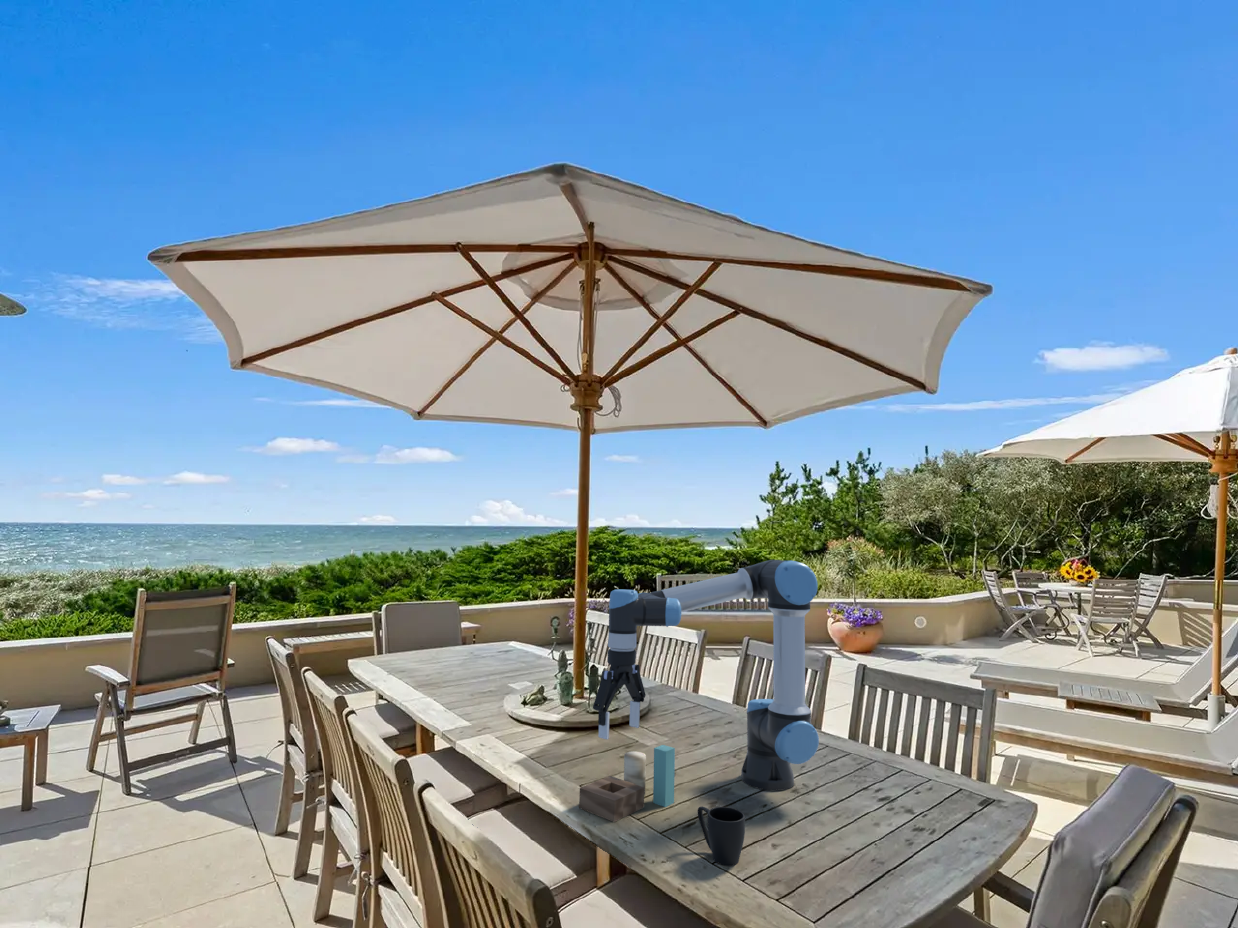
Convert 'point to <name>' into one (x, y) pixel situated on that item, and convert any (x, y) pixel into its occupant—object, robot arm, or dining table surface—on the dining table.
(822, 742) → the dining table surface
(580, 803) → the socket block
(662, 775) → the square bit
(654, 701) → the dining table surface
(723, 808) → the mug
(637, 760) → the round dowel
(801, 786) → the dining table surface
